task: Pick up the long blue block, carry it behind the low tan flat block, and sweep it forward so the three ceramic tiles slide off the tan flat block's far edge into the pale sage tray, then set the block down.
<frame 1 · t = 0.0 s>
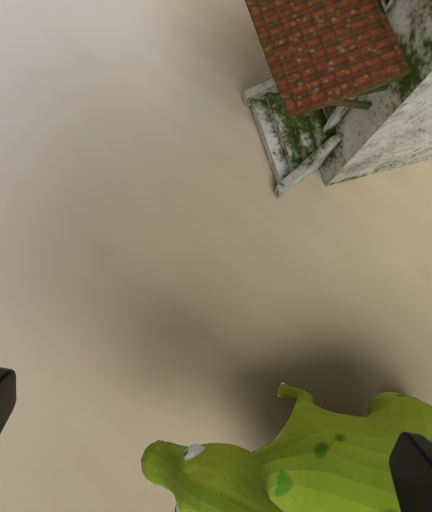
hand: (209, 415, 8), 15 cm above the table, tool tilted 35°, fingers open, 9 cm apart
toy: (325, 447, 23), on the table
model building: (331, 130, 27), on the table
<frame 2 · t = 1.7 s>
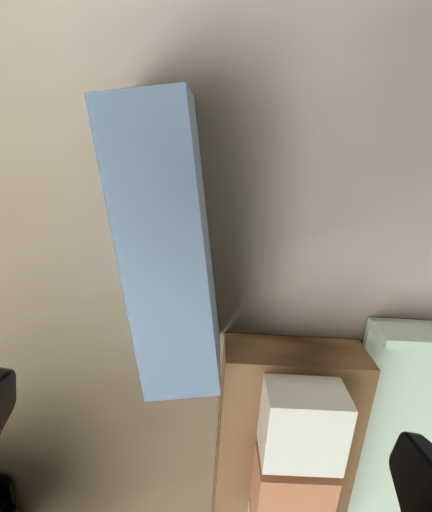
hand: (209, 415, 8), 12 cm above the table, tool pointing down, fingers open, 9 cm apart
tile c: (297, 406, 19), point 3 cm above the table, touching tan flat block
tray: (411, 436, 24), on the table
tile b: (287, 470, 21), point 3 cm above the table, touching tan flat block
long blue block: (176, 230, 20), on the table
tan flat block: (278, 430, 24), on the table
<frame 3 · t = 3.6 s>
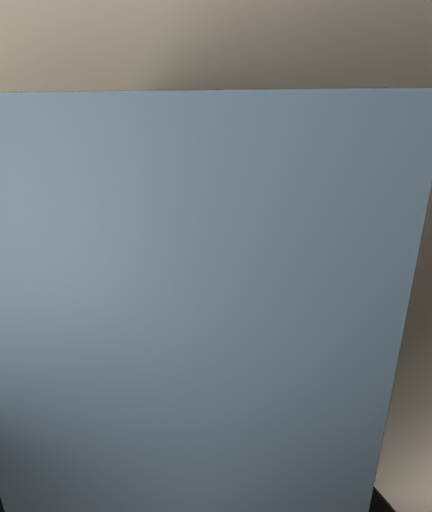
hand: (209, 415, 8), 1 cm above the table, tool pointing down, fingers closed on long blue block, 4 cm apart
long blue block: (210, 377, 10), on the table, touching gripper
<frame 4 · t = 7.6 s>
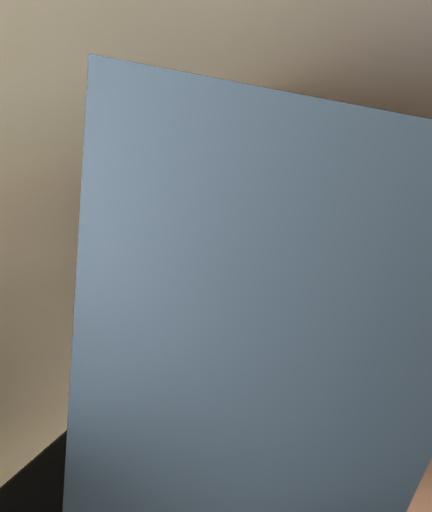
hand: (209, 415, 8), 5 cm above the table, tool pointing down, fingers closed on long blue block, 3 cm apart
tile b: (361, 390, 10), point 3 cm above the table, touching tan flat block, gripper
long blue block: (209, 377, 10), point 3 cm above the table, touching gripper, tile a, tile c
when the fingers open (5 cm above the table, at t = 8.4 s): long blue block moves 2 cm, resting on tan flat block.
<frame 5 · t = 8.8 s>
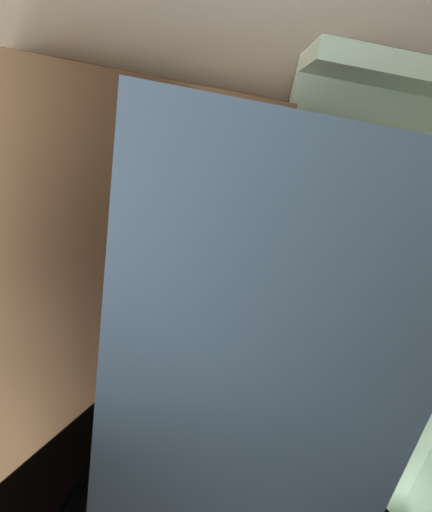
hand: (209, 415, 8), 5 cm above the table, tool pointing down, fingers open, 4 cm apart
tray: (361, 337, 13), on the table
long blue block: (204, 364, 10), point 3 cm above the table, touching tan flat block, gripper
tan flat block: (122, 297, 13), on the table
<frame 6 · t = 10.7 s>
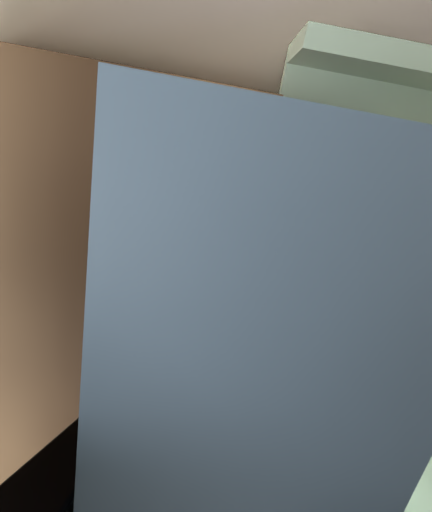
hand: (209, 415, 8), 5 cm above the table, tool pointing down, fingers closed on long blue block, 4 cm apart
tray: (355, 337, 13), on the table
long blue block: (213, 370, 10), point 3 cm above the table, touching gripper
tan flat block: (110, 297, 13), on the table
when the fingers open (5 cm above the table, at t = 11.8 s): long blue block stays where it is, resting on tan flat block.
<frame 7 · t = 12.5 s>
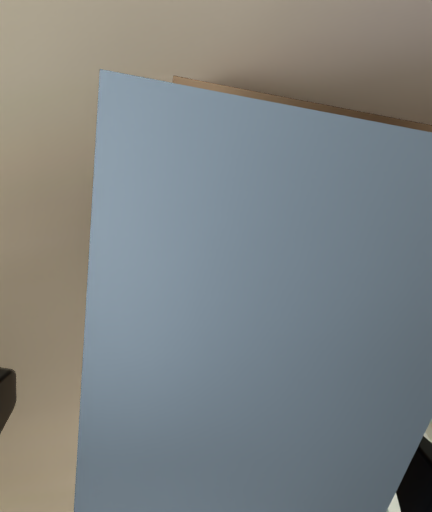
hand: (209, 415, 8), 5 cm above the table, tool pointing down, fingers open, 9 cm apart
long blue block: (211, 366, 10), point 3 cm above the table, touching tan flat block
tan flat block: (269, 322, 13), on the table
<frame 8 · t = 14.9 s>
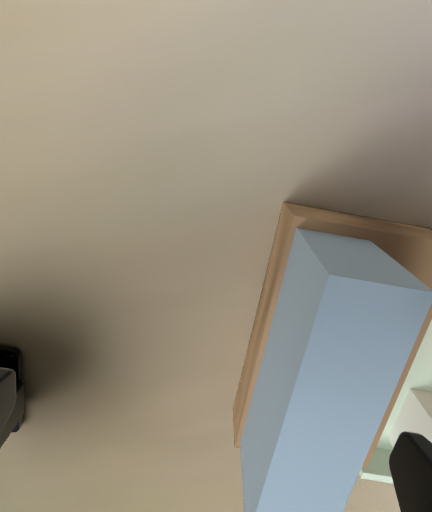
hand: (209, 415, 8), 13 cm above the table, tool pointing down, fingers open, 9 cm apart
tile a: (413, 438, 21), point 2 cm above the table, tilted 90°, touching tray
long blue block: (298, 352, 19), point 3 cm above the table, touching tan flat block
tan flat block: (321, 327, 22), on the table
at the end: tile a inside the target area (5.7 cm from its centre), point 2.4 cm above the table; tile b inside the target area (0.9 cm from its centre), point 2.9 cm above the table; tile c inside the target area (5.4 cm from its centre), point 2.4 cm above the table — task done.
